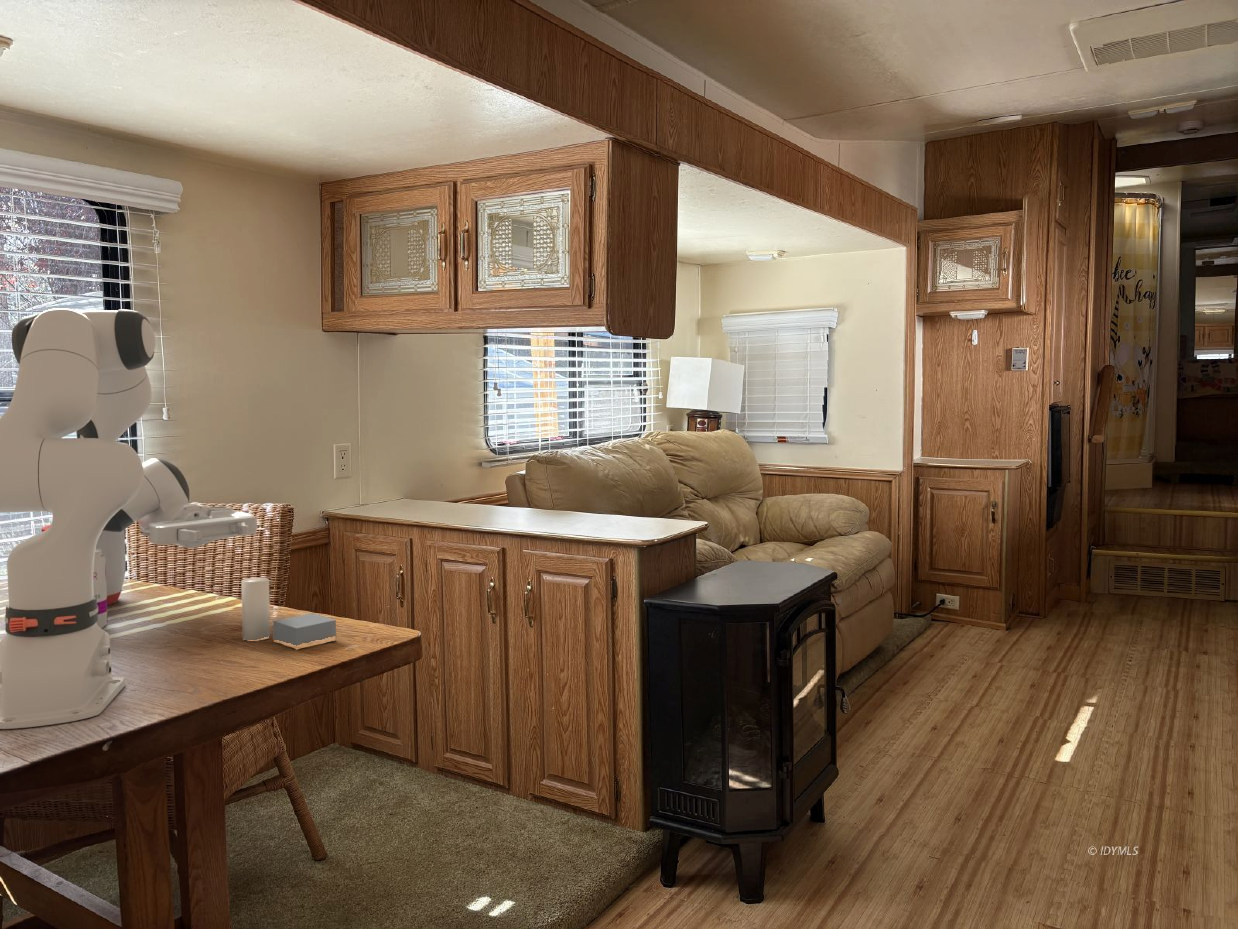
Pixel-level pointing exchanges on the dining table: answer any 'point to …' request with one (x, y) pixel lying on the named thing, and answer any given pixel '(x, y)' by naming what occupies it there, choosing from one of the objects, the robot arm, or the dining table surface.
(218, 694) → the dining table surface
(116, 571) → the citrus juicer
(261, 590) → the white pillar candle
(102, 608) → the supplement can
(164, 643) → the dining table surface
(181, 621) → the dining table surface
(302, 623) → the plinth
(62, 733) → the dining table surface
